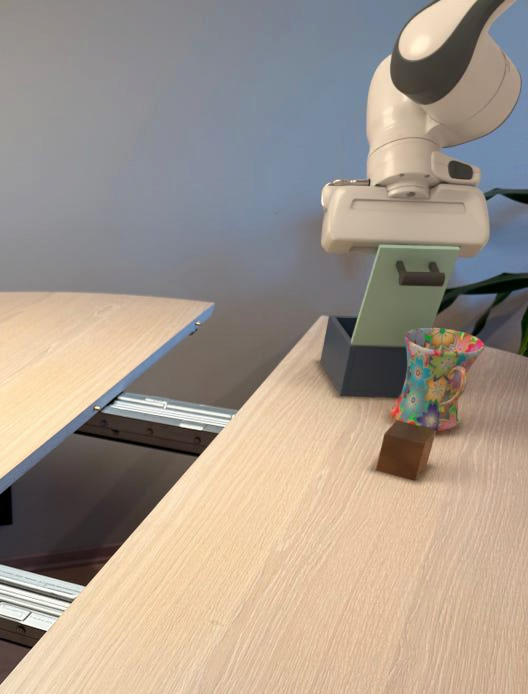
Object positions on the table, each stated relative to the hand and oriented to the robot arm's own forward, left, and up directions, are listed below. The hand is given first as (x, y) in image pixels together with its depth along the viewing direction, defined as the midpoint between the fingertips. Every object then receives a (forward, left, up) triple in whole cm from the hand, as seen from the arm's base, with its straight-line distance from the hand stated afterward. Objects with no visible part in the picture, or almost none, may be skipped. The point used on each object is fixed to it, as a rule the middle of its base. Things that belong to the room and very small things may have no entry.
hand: (404, 284), depth 122 cm
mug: (-8, +5, -15) cm, 18 cm away
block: (-9, +19, -15) cm, 26 cm away
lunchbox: (+4, -6, -15) cm, 17 cm away
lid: (0, 0, -1) cm, 1 cm away
